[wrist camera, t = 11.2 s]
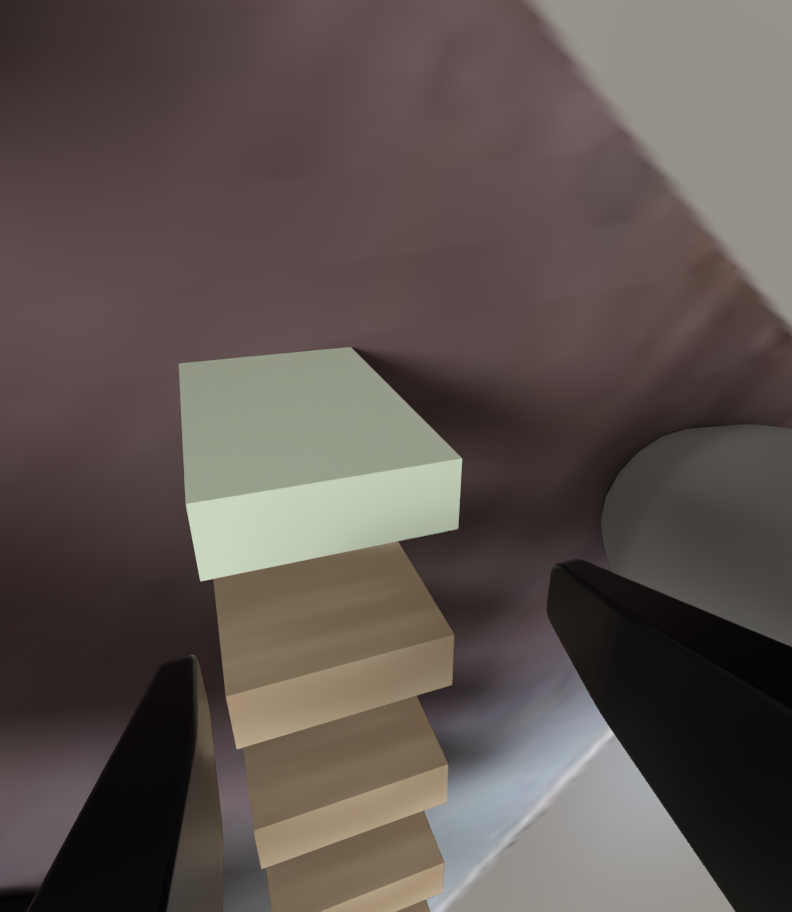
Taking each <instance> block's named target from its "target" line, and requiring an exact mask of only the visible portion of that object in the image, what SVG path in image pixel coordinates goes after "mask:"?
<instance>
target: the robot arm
mask: <svg viewBox="0 0 792 912" xmlns="http://www.w3.org/2000/svg"><path fill="white" fill-rule="evenodd" d="M547 614H548V618H549V620H550V623H551V625H552V626H553V628H554V630H555V632H556V634H557V636H558V637H559V639H560V641H561V643H562V645H563V647H564V648H565V650H566V652H567V654H568V656H569V658H570V659H571V661H572V663H573V665H574V667H575V669H576V670H577V672H578V674H579V676H580V678H581V680H582V681H583V683H584V685H585V687H586V689H587V691H588V692H589V694H590V696H591V698H592V700H593V701H594V703H595V705H596V706H597V708H598V710H599V711H600V713H601V715H602V716H603V718H604V719H605V721H606V722H607V724H608V725H609V727H610V728H611V730H612V731H613V733H614V734H615V736H616V737H617V739H618V740H619V741H620V743H621V744H622V746H623V747H624V749H625V750H626V751H627V753H628V755H629V756H630V757H631V759H632V761H633V762H634V763H635V765H636V766H637V768H638V769H639V771H640V772H641V774H642V775H643V777H644V778H645V779H646V781H647V782H648V784H649V785H650V787H651V788H652V790H653V791H654V793H655V794H656V796H657V797H658V799H659V800H660V802H661V803H662V804H663V806H664V808H665V809H666V810H667V812H668V813H669V815H670V816H671V818H672V819H673V821H674V822H675V824H676V825H677V827H678V828H679V830H680V831H681V833H682V834H683V835H684V837H685V838H686V840H687V841H688V843H689V844H690V846H691V847H692V848H693V850H694V852H695V853H696V854H697V856H698V857H699V859H700V860H701V862H702V863H703V865H704V866H705V868H706V869H707V871H708V872H709V874H710V875H711V876H712V878H713V879H714V881H715V882H716V884H717V885H718V887H719V888H720V890H721V891H722V893H723V894H724V895H725V897H726V899H727V900H728V901H729V903H730V904H731V906H732V907H733V909H734V910H735V912H792V647H791V646H789V645H786V644H784V643H782V642H779V641H777V640H774V639H772V638H770V637H767V636H765V635H762V634H760V633H758V632H755V631H753V630H750V629H748V628H745V627H743V626H741V625H738V624H736V623H733V622H731V621H729V620H726V619H724V618H721V617H719V616H717V615H714V614H712V613H709V612H707V611H704V610H702V609H700V608H697V607H695V606H692V605H690V604H688V603H685V602H683V601H680V600H678V599H676V598H673V597H671V596H668V595H666V594H663V593H661V592H659V591H656V590H654V589H651V588H649V587H647V586H644V585H642V584H639V583H637V582H635V581H632V580H630V579H627V578H625V577H623V576H620V575H618V574H615V573H613V572H610V571H608V570H606V569H603V568H601V567H598V566H596V565H594V564H591V563H589V562H586V561H584V560H581V559H574V560H570V561H566V562H562V563H558V564H556V565H555V566H554V567H553V569H552V571H551V577H550V584H549V592H548V599H547ZM223 870H224V858H223V831H222V818H221V809H220V800H219V791H218V782H217V773H216V764H215V755H214V746H213V737H212V728H211V719H210V711H209V705H208V700H207V695H206V691H205V687H204V682H203V678H202V674H201V669H200V665H199V661H198V658H197V657H196V656H195V655H187V656H183V657H179V658H175V659H171V660H167V661H164V662H163V663H162V664H161V665H160V666H159V668H158V670H157V672H156V673H155V675H154V677H153V679H152V681H151V683H150V684H149V686H148V688H147V690H146V692H145V694H144V696H143V697H142V699H141V701H140V703H139V705H138V707H137V708H136V710H135V712H134V714H133V716H132V718H131V720H130V721H129V723H128V725H127V727H126V729H125V731H124V732H123V734H122V736H121V738H120V740H119V742H118V744H117V745H116V747H115V749H114V751H113V753H112V755H111V756H110V758H109V760H108V762H107V764H106V766H105V768H104V769H103V771H102V773H101V775H100V777H99V779H98V781H97V782H96V784H95V786H94V788H93V790H92V792H91V793H90V795H89V797H88V799H87V801H86V803H85V805H84V806H83V808H82V810H81V812H80V814H79V816H78V817H77V819H76V821H75V823H74V825H73V827H72V829H71V830H70V832H69V834H68V836H67V838H66V840H65V841H64V843H63V845H62V847H61V849H60V851H59V853H58V854H57V856H56V858H55V860H54V862H53V864H52V865H51V867H50V869H49V871H48V873H47V875H46V877H45V878H44V880H43V882H42V884H41V886H40V888H39V889H38V891H37V893H36V895H35V897H26V898H19V899H12V900H6V901H0V912H223Z"/></svg>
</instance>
